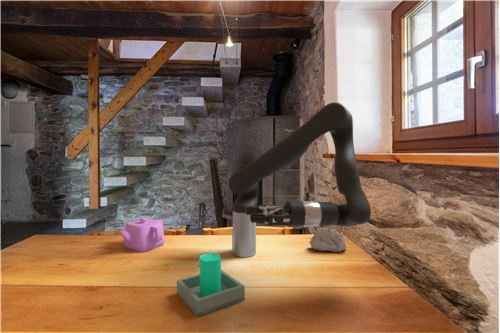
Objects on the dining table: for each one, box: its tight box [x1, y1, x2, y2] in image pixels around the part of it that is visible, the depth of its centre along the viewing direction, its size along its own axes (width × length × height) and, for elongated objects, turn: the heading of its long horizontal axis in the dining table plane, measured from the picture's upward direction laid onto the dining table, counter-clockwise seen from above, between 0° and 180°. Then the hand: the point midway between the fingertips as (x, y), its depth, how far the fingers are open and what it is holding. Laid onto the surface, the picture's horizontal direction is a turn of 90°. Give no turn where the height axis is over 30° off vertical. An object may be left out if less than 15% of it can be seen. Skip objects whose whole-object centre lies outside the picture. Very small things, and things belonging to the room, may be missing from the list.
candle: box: [198, 252, 222, 297], centre depth 80 cm, size 6×6×12 cm
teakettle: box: [119, 217, 165, 253], centre depth 123 cm, size 17×17×12 cm
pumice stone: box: [309, 227, 348, 253], centre depth 118 cm, size 15×8×10 cm, turn 82°
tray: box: [176, 269, 246, 318], centre depth 80 cm, size 14×14×4 cm
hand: (247, 214), depth 81 cm, fingers open, 8 cm apart
